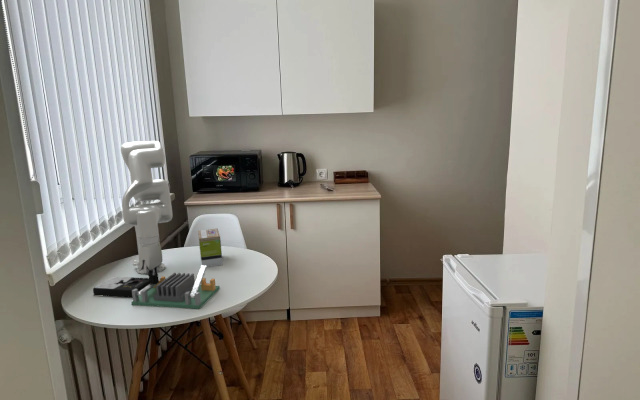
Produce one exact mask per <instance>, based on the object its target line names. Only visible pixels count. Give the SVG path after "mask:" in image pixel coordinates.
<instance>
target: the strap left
mask: <svg viewBox="0 0 640 400" xmlns="http://www.w3.org/2000/svg"><path fill="white" fill-rule="evenodd" d="M158 279H159V283H160V282H161V281H160V278H158ZM159 283H157V284H159ZM157 284H149V285H148V286H146V287H145V288H143V289H142V290H144V289H147V292H148V291H149V290H150V289H152V288H153V287H155V286H156V285H157ZM142 290H140V291H139V292H137V293H136V295H138V296H142V294H141V291H142Z"/></svg>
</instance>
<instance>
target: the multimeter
mask: <svg viewBox="0 0 640 400" xmlns="http://www.w3.org/2000/svg"><path fill="white" fill-rule="evenodd" d="M149 284H150V283H149V277H134V276H133V277H130V276H112V277H110V278H108V279H106V280H105V281H103V282H101V283H99V284H98V285H96V286H95V287H93V288H92V293H93V296H95V295H103V296H102V297H112V298H113V297H114V298H129V299H133V297H132V290H134V289H138V292H139V291H140V290H142V289H143V288H145V287H146V286H148V285H149Z"/></svg>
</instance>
